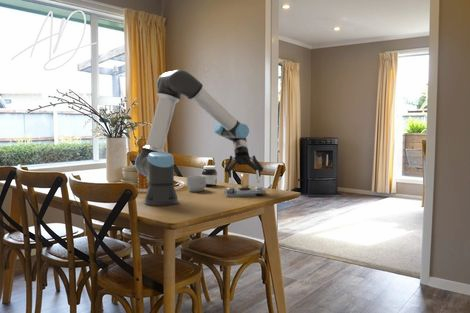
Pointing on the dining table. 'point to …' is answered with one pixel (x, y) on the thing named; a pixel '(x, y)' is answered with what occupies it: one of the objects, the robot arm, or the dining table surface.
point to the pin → (244, 181)
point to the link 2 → (251, 190)
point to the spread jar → (210, 176)
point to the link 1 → (232, 193)
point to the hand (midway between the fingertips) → (245, 181)
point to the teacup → (196, 183)
